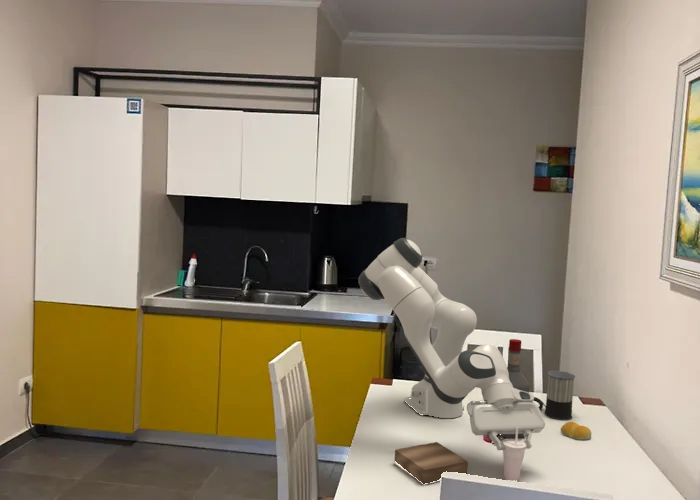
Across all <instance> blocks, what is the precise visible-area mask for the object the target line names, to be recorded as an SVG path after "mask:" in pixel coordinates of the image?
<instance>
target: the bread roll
mask: <svg viewBox="0 0 700 500" xmlns="http://www.w3.org/2000/svg"><path fill="white" fill-rule="evenodd" d="M560 432H561V434H562V435H564V436H565V437H568V438H571V439H573V440H576V441H577V440H579V441H588V440H590V439H591V438H592V430H591V429H590V428H589V427H588V426H585V425H581V424H580V425H579V423H577V422H575V421H568V422H565V423H564V424H563V425H561V427H560Z"/></svg>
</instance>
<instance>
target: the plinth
mask: <svg viewBox="0 0 700 500" xmlns="http://www.w3.org/2000/svg"><path fill="white" fill-rule="evenodd" d="M394 461H396V462H397V463H398V464H400V465H401V466H402V467H403V468H404V469H406V470H407V471H408V472H409V473H411V474H412V475H413V476H414V477H416V478H417V479H418V480H419V481H421V482H422V483H423V484H425V483H430V482H433V481H437V480H439V479H440V478H441V474H442V473H443V472H446V471H447V472H458V473H466V474H467V475H468V471H469V460H467V459H466V458H464V457H462V456H460V455H459V454H457V453H456V452H454V451H452V450H451V449H449V448H448V447H446V446H444V445H442V444H441V443H440V442H437V441H435V442H429V443H424V444H419V445H418V444H417V445H413V446H408V447H401V448H396V449H394ZM419 481H418V482H419ZM423 484H422V485H423Z"/></svg>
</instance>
